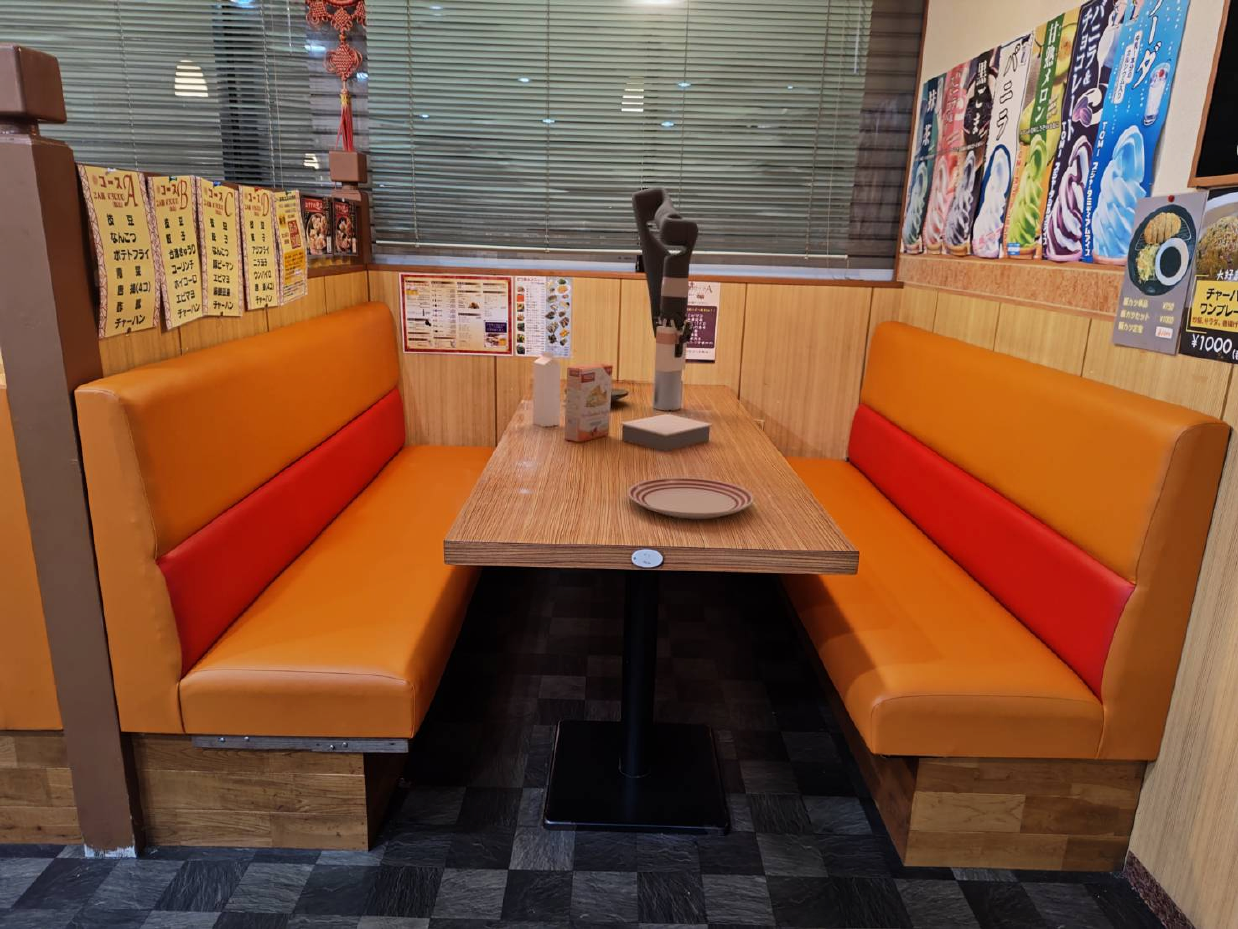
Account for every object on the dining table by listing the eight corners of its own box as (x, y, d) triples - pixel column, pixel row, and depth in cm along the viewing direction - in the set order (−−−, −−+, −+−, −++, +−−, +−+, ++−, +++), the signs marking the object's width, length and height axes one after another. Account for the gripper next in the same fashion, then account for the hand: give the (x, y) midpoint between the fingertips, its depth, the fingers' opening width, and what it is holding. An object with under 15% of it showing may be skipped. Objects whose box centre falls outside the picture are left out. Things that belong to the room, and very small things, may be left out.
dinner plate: (601, 502, 180) (601, 488, 179) (683, 481, 199) (684, 468, 198) (696, 537, 161) (698, 521, 160) (777, 510, 180) (779, 496, 179)
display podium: (666, 430, 250) (667, 413, 249) (711, 440, 239) (712, 424, 238) (619, 439, 235) (620, 422, 234) (664, 452, 224) (665, 434, 223)
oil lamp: (561, 409, 273) (562, 386, 271) (566, 392, 302) (566, 372, 300) (628, 412, 274) (629, 389, 272) (626, 395, 303) (627, 374, 301)
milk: (542, 427, 247) (543, 354, 241) (532, 423, 251) (533, 351, 245) (559, 425, 250) (561, 353, 244) (549, 421, 255) (550, 350, 249)
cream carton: (654, 369, 230) (656, 326, 227) (672, 367, 236) (675, 325, 233) (666, 371, 227) (669, 328, 224) (685, 369, 233) (687, 326, 230)
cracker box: (579, 443, 229) (582, 369, 223) (563, 439, 232) (565, 366, 227) (610, 435, 240) (613, 364, 234) (594, 432, 243) (597, 361, 238)
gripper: (646, 292, 228) (642, 353, 233) (686, 296, 219) (682, 360, 223) (663, 292, 233) (660, 352, 238) (703, 296, 224) (699, 358, 229)
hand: (670, 355), depth 231 cm, fingers closed on cream carton, 4 cm apart
